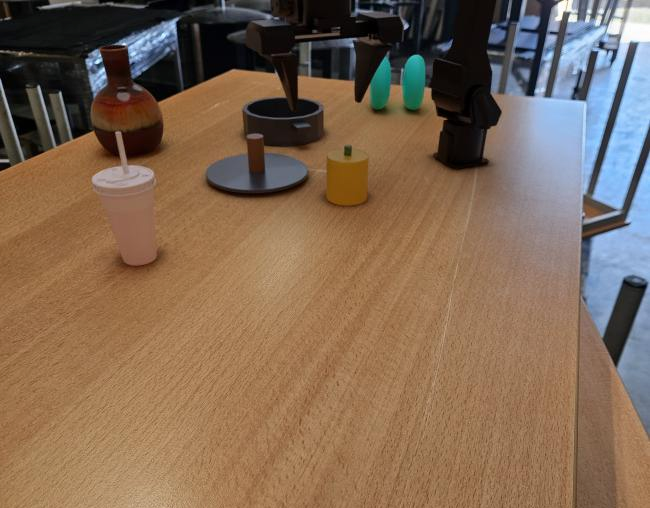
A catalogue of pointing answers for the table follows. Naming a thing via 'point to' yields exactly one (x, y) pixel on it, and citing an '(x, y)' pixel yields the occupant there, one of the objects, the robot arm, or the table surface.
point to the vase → (125, 108)
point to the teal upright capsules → (410, 87)
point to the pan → (284, 121)
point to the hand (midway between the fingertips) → (326, 106)
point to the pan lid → (256, 170)
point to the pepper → (347, 176)
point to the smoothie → (129, 208)
